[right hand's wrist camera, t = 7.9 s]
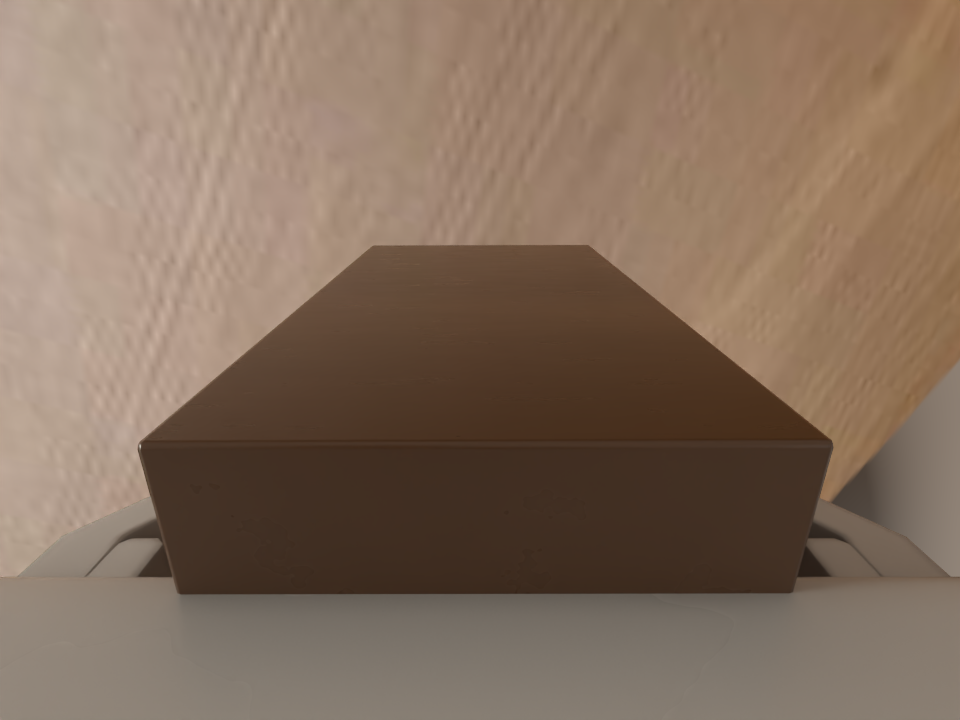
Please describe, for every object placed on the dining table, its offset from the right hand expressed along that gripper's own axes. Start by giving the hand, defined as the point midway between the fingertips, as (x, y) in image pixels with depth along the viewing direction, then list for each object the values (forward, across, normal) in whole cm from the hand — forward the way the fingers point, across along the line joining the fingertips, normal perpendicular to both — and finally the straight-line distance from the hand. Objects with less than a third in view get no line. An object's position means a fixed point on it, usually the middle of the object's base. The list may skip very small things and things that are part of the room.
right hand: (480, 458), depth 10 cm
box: (+5, 0, +7) cm, 9 cm away
